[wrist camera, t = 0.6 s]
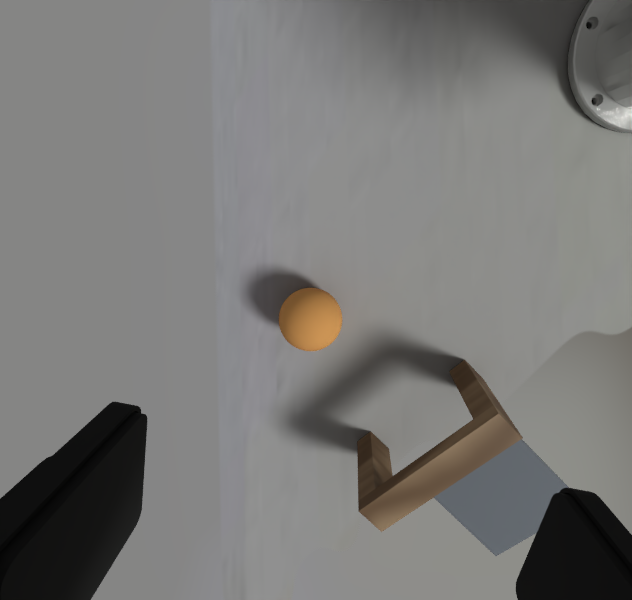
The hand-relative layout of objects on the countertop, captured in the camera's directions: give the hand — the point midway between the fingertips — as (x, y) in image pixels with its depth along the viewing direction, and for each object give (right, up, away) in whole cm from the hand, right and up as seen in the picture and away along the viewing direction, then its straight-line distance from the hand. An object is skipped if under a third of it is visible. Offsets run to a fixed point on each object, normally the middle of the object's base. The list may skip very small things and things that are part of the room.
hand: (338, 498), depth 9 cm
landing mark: (+21, -18, +35) cm, 45 cm away
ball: (-1, +3, +28) cm, 28 cm away
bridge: (+10, -8, +33) cm, 35 cm away
